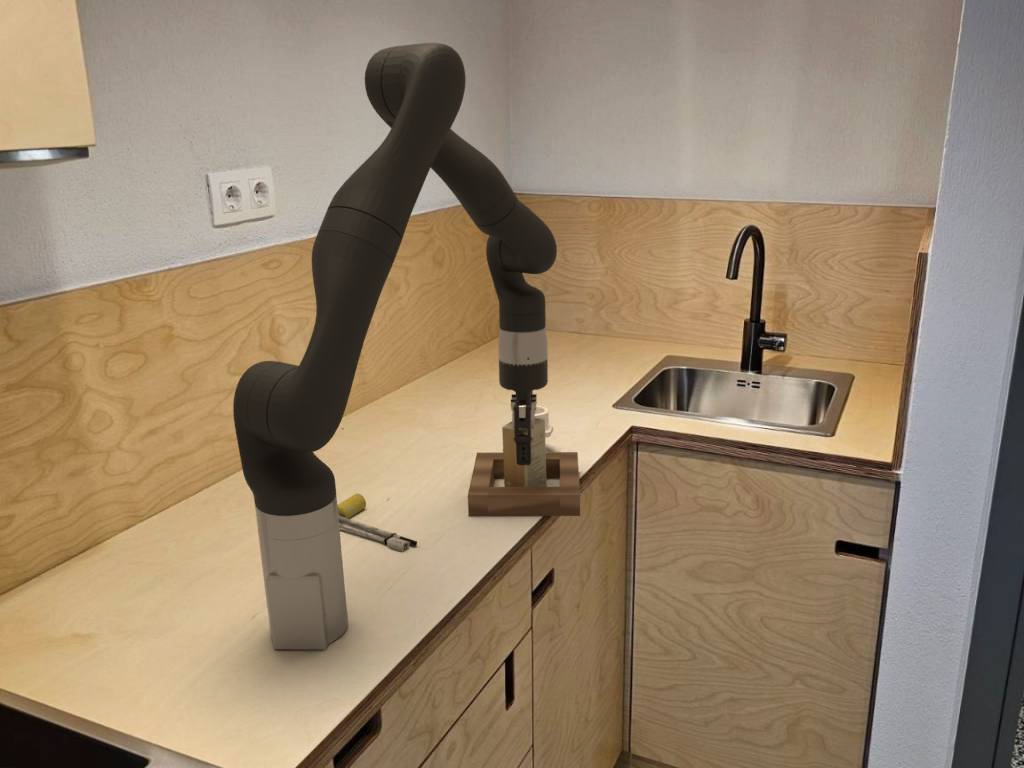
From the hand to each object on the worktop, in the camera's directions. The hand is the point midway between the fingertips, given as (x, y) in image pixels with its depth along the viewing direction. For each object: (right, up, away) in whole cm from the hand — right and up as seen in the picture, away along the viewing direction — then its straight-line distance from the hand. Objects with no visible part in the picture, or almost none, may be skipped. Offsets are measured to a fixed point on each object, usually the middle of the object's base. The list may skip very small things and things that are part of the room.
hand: (524, 454), depth 142 cm
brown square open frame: (0, -6, +2) cm, 7 cm away
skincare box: (0, -7, +2) cm, 7 cm away
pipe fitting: (+2, -1, +18) cm, 19 cm away
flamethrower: (-27, -10, -6) cm, 30 cm away
